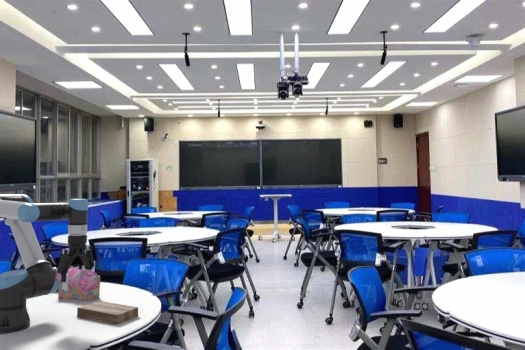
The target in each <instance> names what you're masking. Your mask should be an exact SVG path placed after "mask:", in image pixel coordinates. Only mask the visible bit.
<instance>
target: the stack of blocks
mask: <svg viewBox="0 0 525 350" xmlns="http://www.w3.org/2000/svg"><path fill="white" fill-rule="evenodd" d="M98 278H99V279H98V284H97V285H96V287H95V288H94V289H92V290H91V291H88V292H83V291H81V290H78V289H72V288H68V290H63V289H62V285H61V284H60V286H59V289H58V291H57V292H58V293H57V294H58V296H57V297H58V299H63V298H64V299H63V300H65V299H66V300H78V301H79V300H80V301H91V302H92V301H95V300H97V299H99V298H100V296H101V295H100V294H101V293H100V290H101V275H98Z"/></svg>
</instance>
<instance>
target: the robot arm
mask: <svg viewBox="0 0 525 350" xmlns="http://www.w3.org/2000/svg"><path fill="white" fill-rule="evenodd" d="M88 216H89V201H88V199H86V198H70V199H69V201H68V202H54V203H52V202H51V203H50V202H45V203H35V202H33V199H32V198H31V197H30V196H29V195H27V194H21V193H15V194H13V193H12V194H11V193H9V194H8V193H6V194H5V193H4V194H3V193H2V194H1V193H0V219H3V221H4V224H5V225H6V226H9V227H10V230H11V232H12V235H13V238H14V241H15V244H16V246H17V250H18V252H19V254H20V257H21V260H22V264H23V266H24V269H15V270H9V271H8V270H7V271H5V272H2V273H0V334H8V333H14V332H18V331H22V330H24V329H27V328H28V327H30V325H31V318H30V315H29V312H28V309H27V300H29V299H34V298H38V297H43V296H47V295H50V294H54V293H56V292H58V291H57V289H58V288H59V286H60V284H59V283H58V282H57V280H56V276H55V275H56V272H57V273H60V274H61V282H62V289H63V290H68V281H69V274H67V272H68V270H69V268H70V266H72V263H73V261H74V260H75V259H76V258H77V257H79V258H80V260H81V262H82V264H83V266H84V269H83V270H90V271H91V270H93V268H95V262H94V257H93V252H92V250H93V246H92V245H87V243H88V235H87V234H88V221H89V220H88V219H89V217H88ZM47 221H48V222H49V221H50V222H51V221H53V222H54V221H68V224H67V234H68V236H67V245H68V247H67V248H61V251H60V253H61V255H60V259H59V263H58V265H57V267H56V266H54V267H53V266H52V264H51V262H50V261H48V260H46V258H45V255H44V253H43V251H42V248H41V246H40V242H39V241H38V237H37V235H36V232H35V230H34V227H33V225H32V224H33V223H35V222H47Z"/></svg>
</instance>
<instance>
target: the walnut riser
mask: <svg viewBox="0 0 525 350" xmlns="http://www.w3.org/2000/svg"><path fill="white" fill-rule="evenodd" d="M76 309H77V310H76V312H77V313H76V317H79V318H84V319H89V320H95V321H99V322H103V323H109V324H113V325H119V324H122V323H123V322H124V323H125V322H127V321H129V320H132V319H135V318H136V317H139V307H137V306H132V305H126V304H120V303H114V302H107V301H103V300H98V301H95V302H92V303H88V304H85V305H82V306H79V307H76Z"/></svg>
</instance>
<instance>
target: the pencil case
mask: <svg viewBox="0 0 525 350" xmlns="http://www.w3.org/2000/svg"><path fill="white" fill-rule="evenodd" d="M67 274H69V281H68V288H72V289H78V290H81V291H83V292H88V291H91V290H92V289H94V288H95V287H96V285H97V284H98V279H99V278H98V276H99V275H98V273H97V272H94V271H93V270H91V269H90V270H84V269H80V268H76V266H75V267H74V266H72V265H71V266H70V268H69V270H68V272H67ZM55 276H56V280H57V282H58V283H59V284H61V285H62V282H61V274H60V273H57V272H56V275H55Z"/></svg>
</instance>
